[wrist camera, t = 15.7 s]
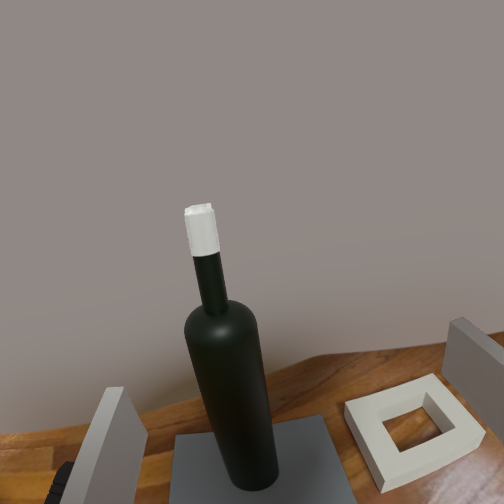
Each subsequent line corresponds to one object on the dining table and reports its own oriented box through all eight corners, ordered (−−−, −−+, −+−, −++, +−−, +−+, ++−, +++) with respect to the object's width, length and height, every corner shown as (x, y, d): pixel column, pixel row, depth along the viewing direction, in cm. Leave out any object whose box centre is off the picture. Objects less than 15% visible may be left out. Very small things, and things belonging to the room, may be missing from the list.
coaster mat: (321, 417, 38) (321, 413, 38) (357, 508, 23) (358, 506, 23) (177, 438, 37) (175, 434, 37) (168, 534, 22) (166, 531, 22)
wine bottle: (256, 448, 34) (209, 198, 26) (289, 471, 29) (255, 197, 21) (219, 472, 30) (145, 213, 22) (251, 500, 26) (181, 215, 18)
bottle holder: (429, 388, 38) (432, 373, 37) (478, 447, 25) (486, 432, 24) (344, 416, 37) (345, 401, 37) (380, 493, 24) (385, 481, 23)
